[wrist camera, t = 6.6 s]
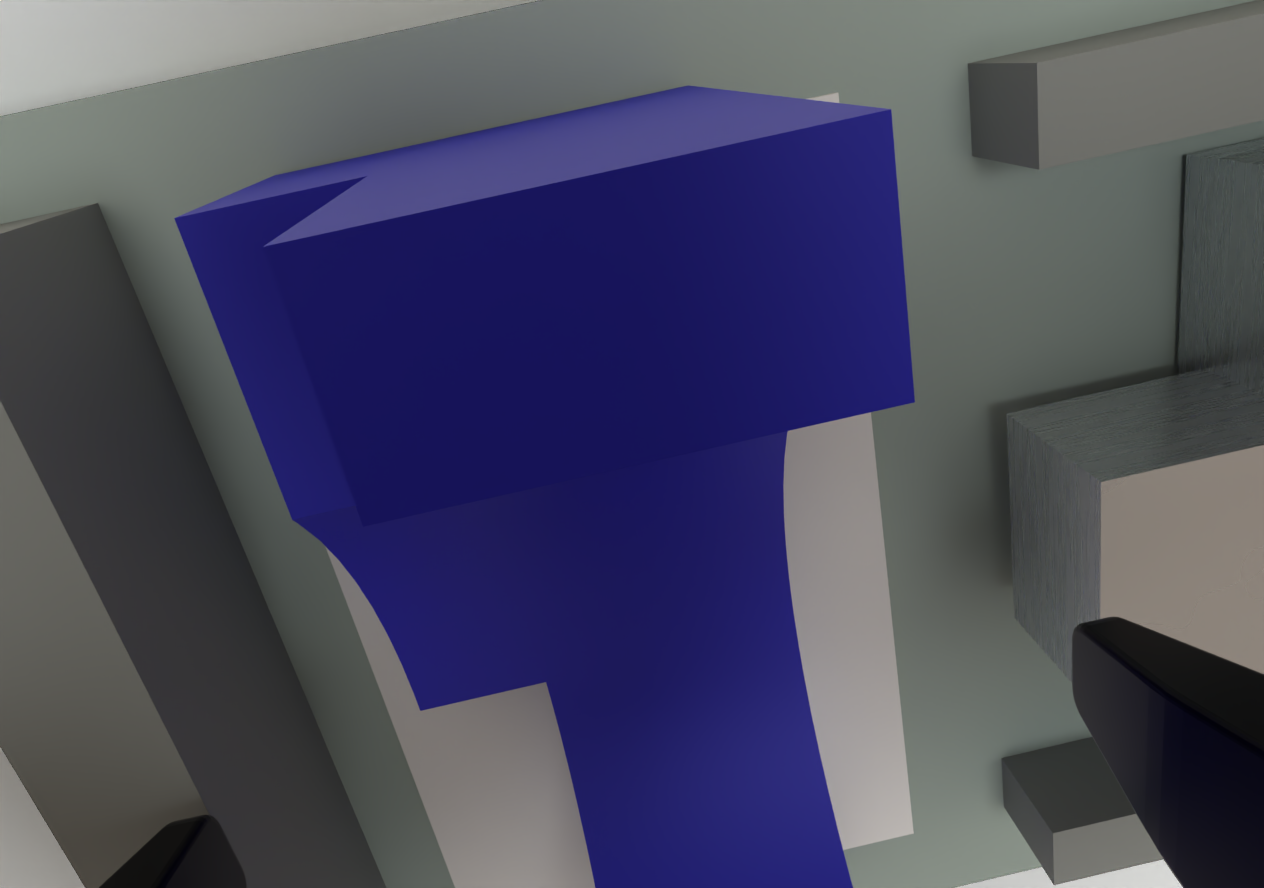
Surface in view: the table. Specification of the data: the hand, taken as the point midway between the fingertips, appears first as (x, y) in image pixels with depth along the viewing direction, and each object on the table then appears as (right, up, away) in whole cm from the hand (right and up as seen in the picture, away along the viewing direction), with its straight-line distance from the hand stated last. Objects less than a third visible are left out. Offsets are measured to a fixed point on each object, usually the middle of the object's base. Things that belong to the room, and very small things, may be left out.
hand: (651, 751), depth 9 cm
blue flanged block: (-1, +1, +3) cm, 3 cm away
